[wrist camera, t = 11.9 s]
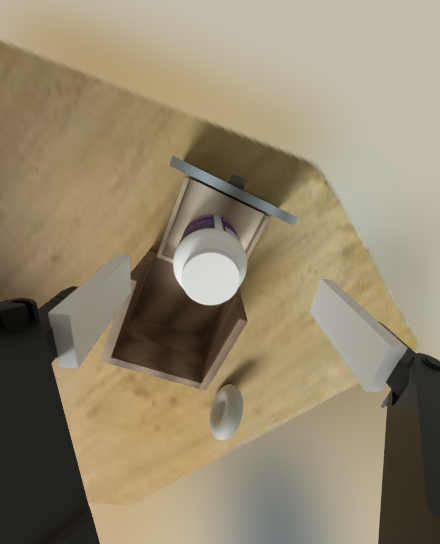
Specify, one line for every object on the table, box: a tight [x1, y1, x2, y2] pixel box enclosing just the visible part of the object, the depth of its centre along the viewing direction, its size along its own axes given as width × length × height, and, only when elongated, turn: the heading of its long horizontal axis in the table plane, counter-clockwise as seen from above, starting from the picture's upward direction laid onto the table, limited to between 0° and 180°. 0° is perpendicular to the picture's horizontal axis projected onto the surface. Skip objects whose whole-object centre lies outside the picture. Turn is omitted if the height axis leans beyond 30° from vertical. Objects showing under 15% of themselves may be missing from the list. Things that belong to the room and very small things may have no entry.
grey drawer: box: [156, 156, 298, 263], centre depth 31 cm, size 16×15×8 cm
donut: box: [210, 384, 243, 440], centre depth 45 cm, size 10×4×10 cm, turn 149°
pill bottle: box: [173, 214, 247, 305], centre depth 27 cm, size 8×8×14 cm
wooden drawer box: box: [100, 249, 247, 391], centre depth 35 cm, size 16×14×11 cm
